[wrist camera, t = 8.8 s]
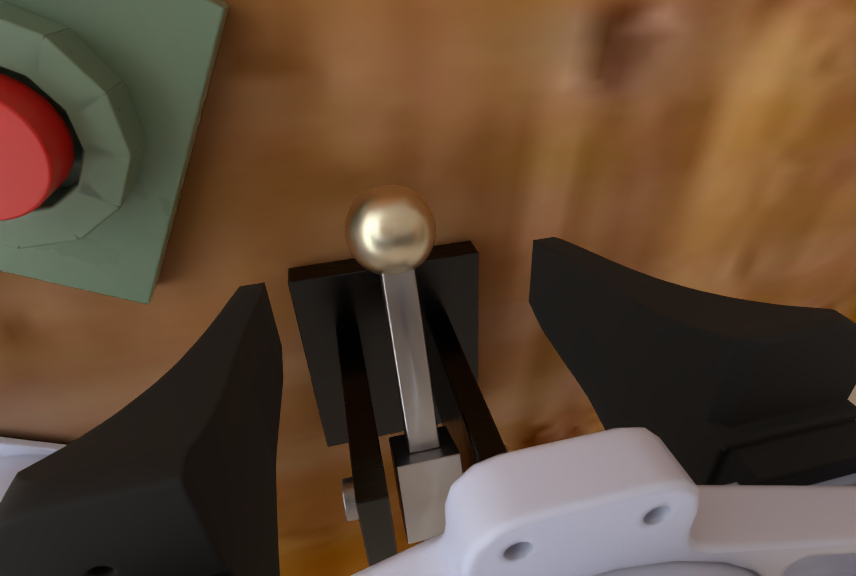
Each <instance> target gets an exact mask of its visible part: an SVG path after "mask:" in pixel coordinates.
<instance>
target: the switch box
mask: <svg viewBox="0 0 856 576" xmlns="http://www.w3.org/2000/svg"><path fill="white" fill-rule="evenodd" d="M228 10H229V4H228V3H226V2H224V1H221V0H0V73H1V74H5V75H7V76H9V77H12V78H14V79H16V80H18V81H20V82H22V83H24V84H26V85H28V86H29V87H31V88H32V89H34V90H35V91H37V92H38V93H39V94H40V95H42V96H43V97H44V98H45V99H46V100H47V101H48V102H49V103H50V104H51V105H52V106H53V107H54V108H55V109H56V110H57V112H58V113H59V114H60V116H61V117H62V118H63V120H64V122H65V123H66V125H67V127H68V129H69V132H70V134H71V137H72V141H73V145H74V163H73V167H72V170H71V172H70V174H69V176H68V177H67V179H66V180H65V181H64V182H63V183H62V184H61V186H60V187H58V188H57V189H56V190H55V191H54V192H53V193H52V194H51V195H50V196H49V197H48V198H47V199H46V200H45V201H44V202H43V203H42V204H41V205H40V206H39V207H38V208H36V209H35V210H34V211H32V212H30V213H28V214H26V215H24V216H22V217H19V218H16V219H11V220H4V221H0V271H3V272H7V273H12V274H16V275H21V276H25V277H29V278H34V279H38V280H43V281H47V282H51V283H56V284H60V285H65V286H69V287H74V288H78V289H82V290H87V291H91V292H96V293H100V294H104V295H109V296H113V297H118V298H122V299H126V300H131V301H135V302H140V303H144V304H149V303H150V301H151V298H152V296H153V293H154V291H155V289H156V286H157V283H158V279H159V275H160V271H161V267H162V263H163V260H164V256H165V252H166V248H167V244H168V240H169V237H170V233H171V229H172V225H173V221H174V217H175V214H176V210H177V206H178V202H179V198H180V194H181V191H182V187H183V183H184V179H185V175H186V171H187V167H188V164H189V160H190V156H191V152H192V148H193V144H194V141H195V137H196V133H197V129H198V125H199V121H200V118H201V114H202V110H203V106H204V102H205V98H206V95H207V91H208V87H209V83H210V79H211V75H212V71H213V68H214V64H215V60H216V56H217V52H218V48H219V45H220V41H221V37H222V33H223V29H224V25H225V22H226V18H227V14H228Z"/></svg>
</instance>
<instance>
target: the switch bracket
mask: <svg viewBox="0 0 856 576" xmlns="http://www.w3.org/2000/svg"><path fill="white" fill-rule="evenodd" d="M478 266H479V253H478V252H477V250H476V248H475V247H474V245H473V244H472V242H471V241H465V242H459V243H452V244H446V245H439V246H433V248H432V250H431V252H430V254H429V256H428V257H427V258H426V260H425V261H424V262H423V263H422V264H421V265H420V266H419V267H417V268H416V269H415V275H416V282H417V289H418V296H419V303H420V310H421V317H422V324H423V331H424V338H425V345H426V352H427V358H428V365H429V372H430V379H431V386H432V393H433V400H434V407H435V414H436V421H437V424H440V423H442V425H443V426H446V427H447V429H448V431H449V433H450V435H451V437H452V439H453V441H454V442H455V444H456V446H457V448H458V450H459V452H460V454H461V460H462V467H463V473H464V472H465V471H467V470H468V469H469V468H470V467H471V466H472V465H474V464H476V463H479V462H481V461H483V460H486V459H488V458H491V457H493V456H496V455H498V454H503V453H507V452H509V451H508V449H507V448H506V446H505V445H504V443H503V441H502V439H501V436H500V434H499V432H498V430H497V427H496V425H495V423H494V420H493V418H492V416H491V413H490V411H489V409H488V407H487V404H486V402H485V400H484V397H483V395H482V393H481V390H480V388H479V386H478ZM288 285H289V290H290V294H291V298H292V302H293V306H294V310H295V314H296V319H297V323H298V327H299V331H300V335H301V339H302V343H303V347H304V352H305V356H306V360H307V364H308V368H309V372H310V376H311V380H312V385H313V389H314V393H315V397H316V401H317V405H318V409H319V414H320V418H321V422H322V426H323V430H324V434H325V438H326V442H327V446H328V447H330V446H335V445H339V444H344V443H349V450H350V459H351V468H352V476H353V477H349V478H345V479H342V481H341V487H342V497H343V504H344V510H345V515H346V519H347V521H353V520H357V519H359V522H360V526H361V531H362V536H363V540H364V545H365V549H366V554H367V559H368V563H369V567H370V566H372V565H374V564H377V563H379V562H381V561H383V560H385V559H387V558H389V557H392V556H394V555H396V554H398V553H397V547H396V540H395V534H394V527H393V521H392V515H391V508H390V502H389V495H388V490H387V484H386V478H385V473H384V467H383V462H382V456H381V450H380V445H379V439H378V436H382V435H387V434H392V433H397V432H402V431H404V428H403V421H402V415H401V408H400V402H399V396H398V389H397V383H396V376H395V370H394V363H393V357H392V351H391V344H390V338H389V331H388V325H387V318H386V312H385V306H384V299H383V293H382V286H381V280H380V275H379V274H376V273H373V272H371V271H369V270H367V269H366V268H364V267H363V266H362V265H360V264H359V263H358V262H357V261H356V260H355V259H348V260H342V261H335V262H328V263H322V264H315V265H309V266H302V267H296V268H290V269H288Z"/></svg>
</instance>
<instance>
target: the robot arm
mask: <svg viewBox="0 0 856 576" xmlns="http://www.w3.org/2000/svg"><path fill="white" fill-rule="evenodd" d="M529 303H530V305H531V307H532V310H533V312H534V314H535V316H536V318H537V320H538V322H539V324H540V326H541V328H542V330H543V332H544V333H545V335H546V336H547V338H548V339H549V341H550V342H551V344H552V345H553V347H554V348H555V350H556V351H557V352H558V354H559V355H560V357H561V358H562V360H563V361H564V363H565V364H566V365H567V367H568V368H569V370H570V371H571V373H572V374H573V376H574V377H575V379H576V380H577V381H578V383H579V384H580V386H581V387H582V389H583V390H584V392H585V394H586V395H587V397H588V398H589V400H590V402H591V404H592V406H593V407H594V409H595V411H596V413H597V415H598V417H599V419H600V421H601V423H602V424H603V426H604V428H605V431H600V432H596V433H591V434H587V435H583V436H578V437H574V438H569V439H565V440H560V441H556V442H551V443H547V444H543V445H538V446H534V447H529V448H525V449H520V450H516V451H511V452H507V453H503V454H498V455H496V456H493V457H491V458H488V459H486V460H483V461H481V462H479V463H476V464H474V465H472V466H471V467H470V468H469V469H468V470H467V471H465V472H464V473H463V474H462V475H461V476H460V477H459V478H458V479H457V480H455V481H454V483H453V484H452V485H451V488H450V491H449V493H448V496H447V499H446V502H445V521H446V525H445V531H444V532H443V533H441V534H439V535H436V536H434V537H432V538H430V539H428V540H426V541H424V542H422V543H419V544H417V545H415V546H413V547H411V548H409V549H407V550H404V551H402V552H400V553H398V554H396V555H394V556H392V557H389V558H387V559H385V560H383V561H381V562H379V563H377V564H374V565H372V566H370V567H368V568H366V569H364V570H362V571H359V572H357V573H355V574H353V575H351V576H856V420H855V419H856V406H855V405H854V404H852V403H851V402H850V401H849V400H847V399H848V397H849V395H850V394H851V392H852V390H853V388H854V387H855V385H856V323H854V322H853V321H851V320H850V319H848V318H847V317H845V316H843V315H842V314H840V313H839V312H837V311H835V310H833V309H823V308H811V307H799V306H786V305H777V304H770V303H763V302H755V301H748V300H743V299H737V298H731V297H726V296H722V295H717V294H712V293H708V292H703V291H699V290H695V289H691V288H687V287H684V286H680V285H677V284H674V283H670V282H667V281H663V280H660V279H657V278H654V277H651V276H649V275H646V274H643V273H641V272H638V271H635V270H633V269H630V268H628V267H625V266H623V265H620V264H618V263H615V262H613V261H611V260H608V259H606V258H604V257H602V256H599V255H597V254H595V253H592V252H590V251H588V250H586V249H583V248H581V247H579V246H577V245H574V244H572V243H570V242H567V241H565V240H562V239H559V238H556V237H551V238H545V239H538V240H533V251H532V265H531V279H530V293H529ZM282 387H283V363H282V345H281V342H280V338H279V334H278V331H277V327H276V323H275V320H274V316H273V312H272V308H271V305H270V301H269V297H268V294H267V290H266V286H265V283H259V284H252V285H246V286H240V287H239V288H238V289H237V291H236V292H235V293H234V294H233V296H232V297H231V298H230V300H229V301H228V302H227V304H226V305H225V307H224V308H223V309H222V311H221V312H220V313H219V315H218V316H217V317H216V319H215V320H214V321H213V322H212V324H211V325H210V326H209V327H208V329H207V330H206V331H205V333H204V334H203V335H202V336H201V337H200V338H199V339H198V341H197V342H196V343H195V344H194V345H193V346H192V347H191V348H190V350H189V351H188V352H187V353H186V354H185V355H184V356H183V357H182V358H181V359H180V360H179V361H178V362H177V363H176V364H175V365H174V366H173V367H172V368H171V369H170V370H169V371H168V372H167V373H166V374H165V375H164V376H162V377H161V378H160V379H159V380H158V381H157V382H156V383H155V384H153V385H152V386H151V387H150V388H149V389H147V390H146V391H145V392H143V393H142V394H141V395H140V396H138V397H137V398H136V399H135V400H133V401H132V402H131V403H129V404H128V405H127V406H126V407H124V408H123V409H122V410H120V411H119V412H118V413H116V414H115V415H113V416H112V417H110V418H109V419H107V420H106V421H104V422H103V423H102V424H100V425H99V426H97V427H95V428H94V429H92V430H91V431H89V432H88V433H86V434H84V435H83V436H81V437H80V438H78V439H76V440H75V441H73V442H71V443H70V444H68V445H65V444H56V443H48V442H40V441H31V440H23V439H15V438H6V437H0V576H280V569H279V549H278V525H277V493H276V455H277V442H278V431H279V420H280V410H281V398H282Z"/></svg>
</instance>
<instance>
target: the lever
mask: <svg viewBox="0 0 856 576" xmlns="http://www.w3.org/2000/svg"><path fill="white" fill-rule="evenodd" d="M435 237H436V224H435V219H434V216H433V213H432V211H431V209H430V207H429V205H428V204H427V202H426V201H425V200H424V199H423V198H422V197H421V196H420V195H419V194H417V193H416V192H414V191H413V190H411V189H409V188H407V187H404V186H400V185H392V184H388V185H380V186H376V187H373V188H371V189H369V190H367V191H366V192H364V193H363V194H361V195H360V196H359V197H358V198H357V199H356V200H355V201H354V203H353V204H352V206H351V207H350V209H349V211H348V214H347V217H346V221H345V239H346V243H347V246H348V248H349V250H350V252H351V254H352V256H353V257H354V258H355V260H356V261H357V262H358V263H359V264H360V265H362V266H363V267H364V268H366V269H367V270H369V271H371V272H373V273H376V274H379V275H380V280H381V286H382V293H383V299H384V306H385V312H386V318H387V325H388V331H389V338H390V344H391V351H392V357H393V363H394V370H395V376H396V383H397V389H398V396H399V402H400V408H401V415H402V421H403V428H404V435H399V436H394V437H390V438H389V442H390V449H391V455H392V461H393V467H394V473H395V480H396V486H397V492H398V498H399V505H400V509H401V514H402V518H403V523H404V527H405V532H406V536H407V541H408V543H409V544H411V543H415V542H419V541H423V540H427V539H430V538H432V537H434V536H436V535H439V534H441V533H443V532H444V531H445V525H446V521H445V502H446V499H447V496H448V493H449V491H450V488H451V485H452V484H453V483H454V481H455V480H457V479H458V478H459V477H460V476H461V475H462V474H463V467H462V460H461V454H460V452H459V450H458V448H457V446H456V444H455V442H454V441H453V439H452V437H451V435H450V433H449V431H448V429H447V427H446V426H442V427H437V421H436V414H435V407H434V400H433V393H432V386H431V379H430V372H429V365H428V358H427V352H426V345H425V338H424V331H423V324H422V317H421V310H420V303H419V296H418V289H417V282H416V275H415V269H416V268H417V267H419V266H420V265H421V264H422V263H423V262H424V261H425V260H426V258H427V257H428V256H429V254H430V252H431V250H432V248H433V245H434V242H435Z"/></svg>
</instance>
